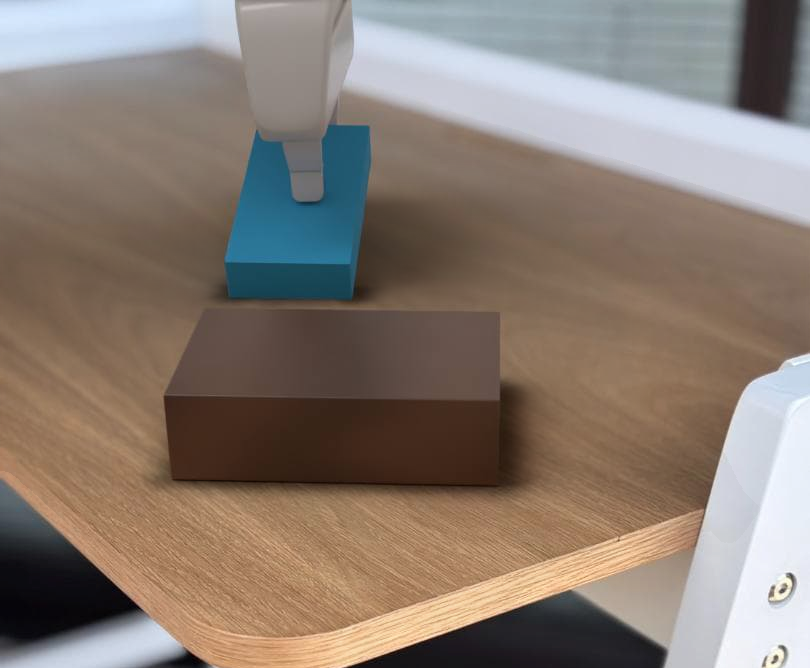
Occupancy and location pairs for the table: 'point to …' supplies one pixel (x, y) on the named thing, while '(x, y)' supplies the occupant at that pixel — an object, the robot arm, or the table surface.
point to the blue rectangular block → (300, 223)
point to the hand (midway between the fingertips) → (317, 176)
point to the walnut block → (337, 397)
